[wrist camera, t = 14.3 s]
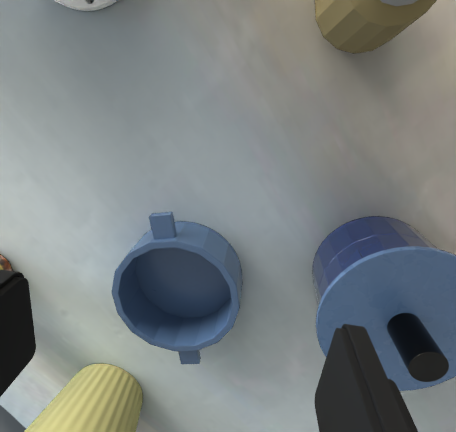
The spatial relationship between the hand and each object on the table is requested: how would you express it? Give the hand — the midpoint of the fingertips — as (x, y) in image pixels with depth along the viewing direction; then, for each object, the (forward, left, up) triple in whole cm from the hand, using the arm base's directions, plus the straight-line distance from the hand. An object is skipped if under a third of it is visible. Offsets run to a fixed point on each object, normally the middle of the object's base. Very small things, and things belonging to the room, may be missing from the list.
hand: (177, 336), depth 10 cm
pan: (+14, -9, -30) cm, 34 cm away
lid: (+15, +14, -20) cm, 29 cm away
